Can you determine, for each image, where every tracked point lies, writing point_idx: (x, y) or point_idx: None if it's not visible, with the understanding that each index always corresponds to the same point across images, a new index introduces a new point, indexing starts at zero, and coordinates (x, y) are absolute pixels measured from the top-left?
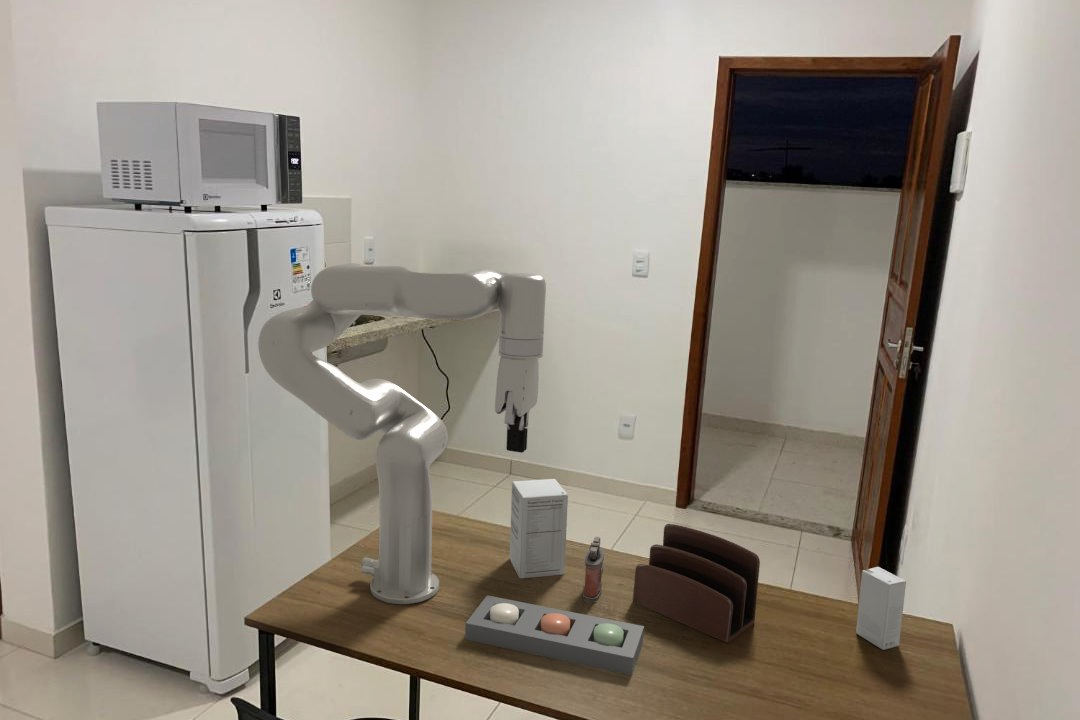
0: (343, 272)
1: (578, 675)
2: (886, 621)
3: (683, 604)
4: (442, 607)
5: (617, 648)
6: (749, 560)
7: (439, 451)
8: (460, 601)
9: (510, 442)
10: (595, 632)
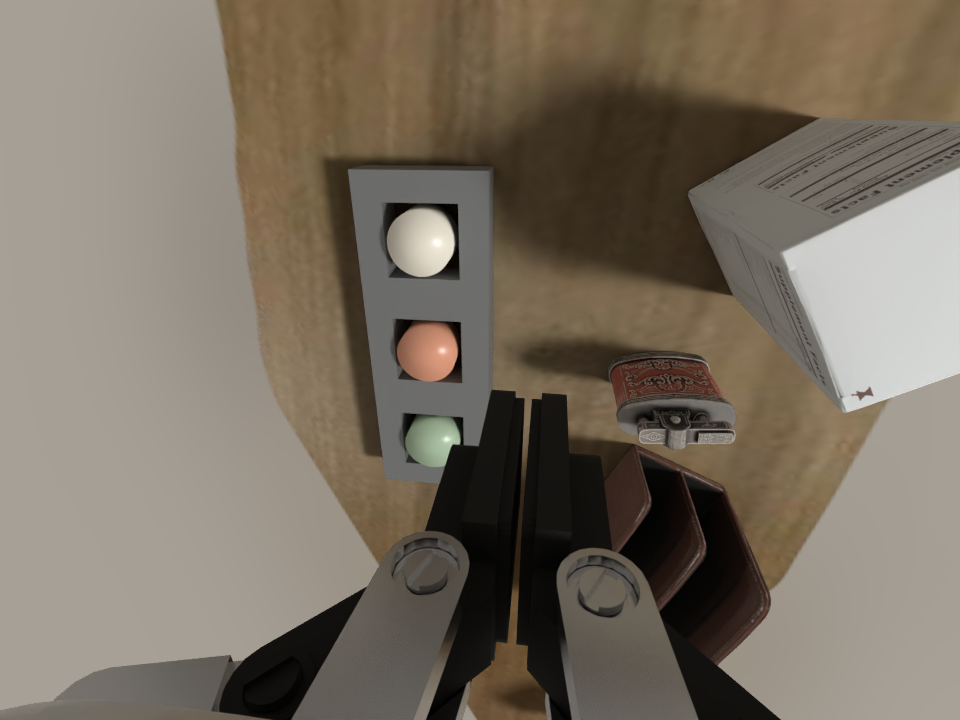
0: None
1: (357, 390)
2: None
3: None
4: (469, 40)
5: (400, 456)
6: None
7: None
8: (516, 77)
9: (447, 467)
10: (416, 427)
